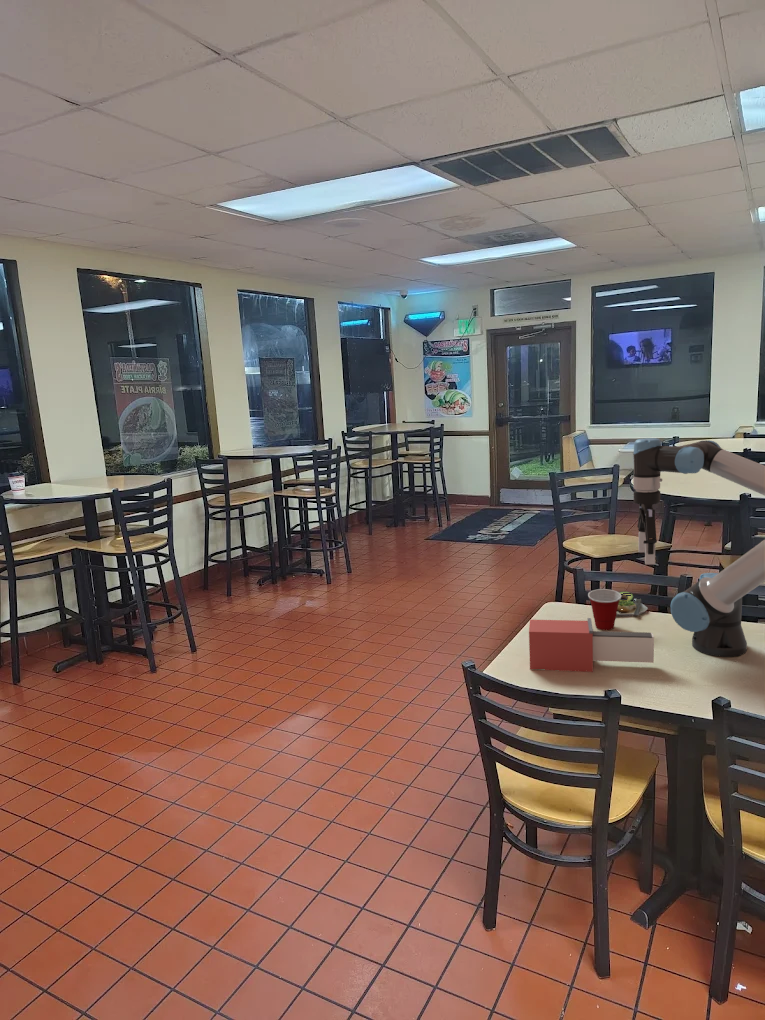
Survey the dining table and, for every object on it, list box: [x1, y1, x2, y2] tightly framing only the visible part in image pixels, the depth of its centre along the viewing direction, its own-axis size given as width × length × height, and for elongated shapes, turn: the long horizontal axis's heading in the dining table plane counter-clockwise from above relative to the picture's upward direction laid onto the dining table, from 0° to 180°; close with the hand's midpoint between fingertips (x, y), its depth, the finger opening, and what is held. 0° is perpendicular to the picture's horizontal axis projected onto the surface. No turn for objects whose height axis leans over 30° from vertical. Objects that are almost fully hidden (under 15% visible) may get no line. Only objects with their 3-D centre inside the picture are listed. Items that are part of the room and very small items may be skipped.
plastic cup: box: [587, 588, 621, 631], centre depth 228 cm, size 11×11×12 cm
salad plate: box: [616, 591, 648, 618], centre depth 244 cm, size 19×18×5 cm
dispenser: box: [528, 617, 594, 673], centre depth 203 cm, size 18×10×13 cm, turn 76°
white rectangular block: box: [593, 630, 655, 664], centre depth 198 cm, size 18×3×8 cm, turn 76°
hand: (646, 558), depth 207 cm, fingers open, 13 cm apart
